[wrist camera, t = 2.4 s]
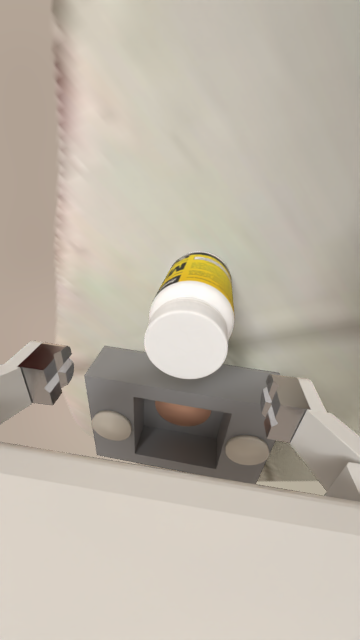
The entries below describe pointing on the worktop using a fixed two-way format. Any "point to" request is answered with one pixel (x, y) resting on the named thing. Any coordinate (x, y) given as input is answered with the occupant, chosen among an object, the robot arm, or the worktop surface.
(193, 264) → the supplement bottle
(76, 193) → the worktop surface
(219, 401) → the housing
